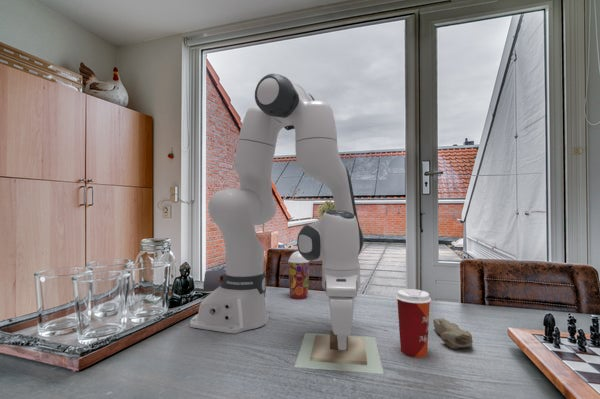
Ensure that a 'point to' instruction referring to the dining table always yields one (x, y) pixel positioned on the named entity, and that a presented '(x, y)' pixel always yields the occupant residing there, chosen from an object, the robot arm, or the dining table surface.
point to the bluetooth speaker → (212, 279)
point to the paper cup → (413, 321)
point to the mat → (371, 366)
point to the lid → (329, 352)
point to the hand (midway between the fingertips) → (341, 339)
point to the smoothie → (298, 275)
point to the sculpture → (452, 334)
